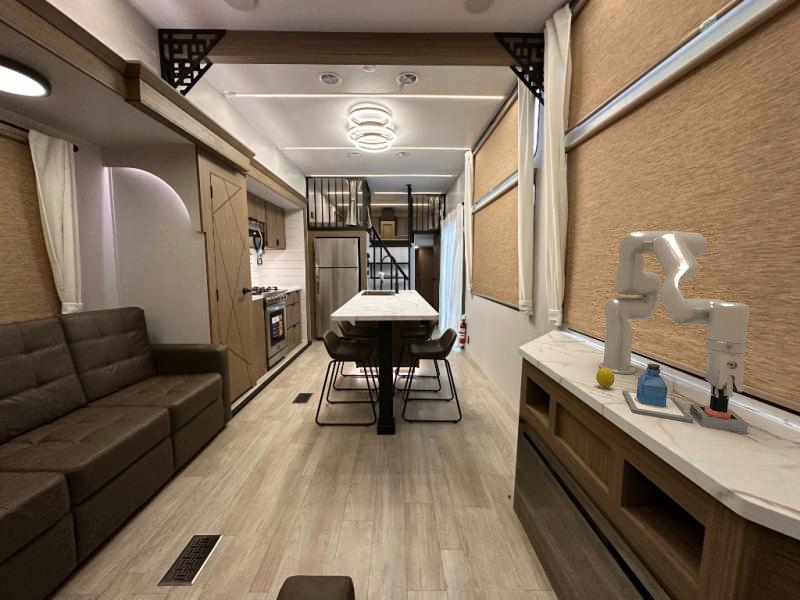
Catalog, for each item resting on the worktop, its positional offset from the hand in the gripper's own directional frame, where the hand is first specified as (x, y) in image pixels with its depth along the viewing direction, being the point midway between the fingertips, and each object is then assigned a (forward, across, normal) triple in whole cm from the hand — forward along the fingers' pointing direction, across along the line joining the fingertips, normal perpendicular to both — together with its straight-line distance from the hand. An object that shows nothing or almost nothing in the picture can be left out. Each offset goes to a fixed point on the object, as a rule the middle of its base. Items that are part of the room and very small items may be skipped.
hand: (718, 410), depth 88 cm
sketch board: (+4, +5, +13) cm, 15 cm away
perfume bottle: (+3, +6, +14) cm, 15 cm away
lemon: (+4, +16, +25) cm, 30 cm away
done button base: (+4, 0, 0) cm, 4 cm away
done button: (+3, 0, 0) cm, 3 cm away
